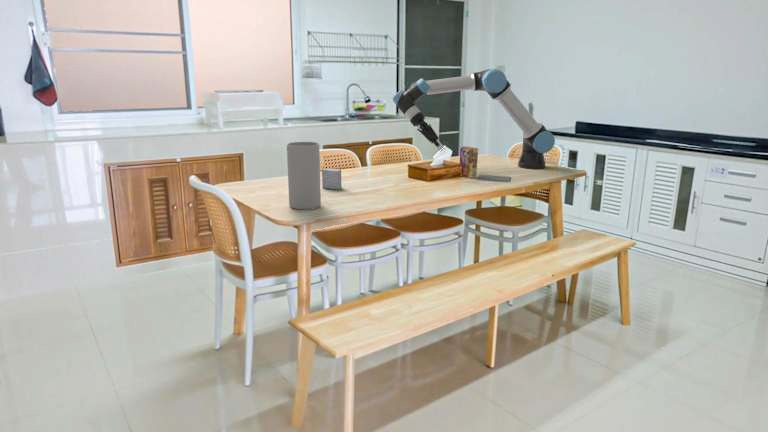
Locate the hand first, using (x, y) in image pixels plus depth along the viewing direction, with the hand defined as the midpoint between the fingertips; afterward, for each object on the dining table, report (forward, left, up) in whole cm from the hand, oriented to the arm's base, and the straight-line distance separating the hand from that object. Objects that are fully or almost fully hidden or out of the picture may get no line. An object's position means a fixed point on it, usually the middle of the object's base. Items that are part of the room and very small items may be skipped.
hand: (443, 150), depth 271 cm
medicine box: (+41, +50, -13) cm, 66 cm away
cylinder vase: (+38, +84, -13) cm, 93 cm away
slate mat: (-27, +1, -13) cm, 30 cm away
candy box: (-14, +1, -13) cm, 19 cm away
